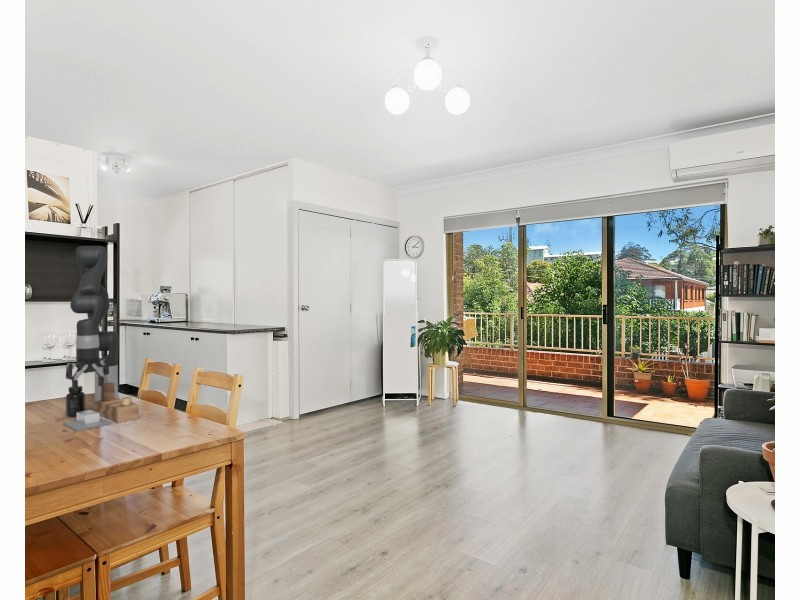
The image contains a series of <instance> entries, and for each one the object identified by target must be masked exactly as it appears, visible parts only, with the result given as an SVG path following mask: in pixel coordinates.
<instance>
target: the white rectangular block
mask: <svg viewBox="0 0 800 600" xmlns="http://www.w3.org/2000/svg"><path fill="white" fill-rule="evenodd" d="M99 418H100V417H99V413H98V412H96V410H92V409H87V410H85V411H81V412H77V416H76V421H77V423H79V424H82V425H84V426H87V425H92V424H97V423H99Z"/></svg>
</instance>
